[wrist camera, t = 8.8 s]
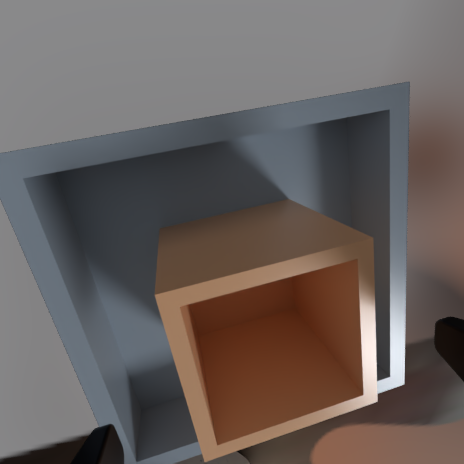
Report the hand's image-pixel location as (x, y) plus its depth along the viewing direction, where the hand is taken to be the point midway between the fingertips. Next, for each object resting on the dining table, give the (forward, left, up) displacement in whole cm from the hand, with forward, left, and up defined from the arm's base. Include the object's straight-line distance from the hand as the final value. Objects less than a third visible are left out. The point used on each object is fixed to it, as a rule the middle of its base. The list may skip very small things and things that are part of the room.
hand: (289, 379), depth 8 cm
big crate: (0, 0, -8) cm, 8 cm away
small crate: (0, 0, -7) cm, 7 cm away
